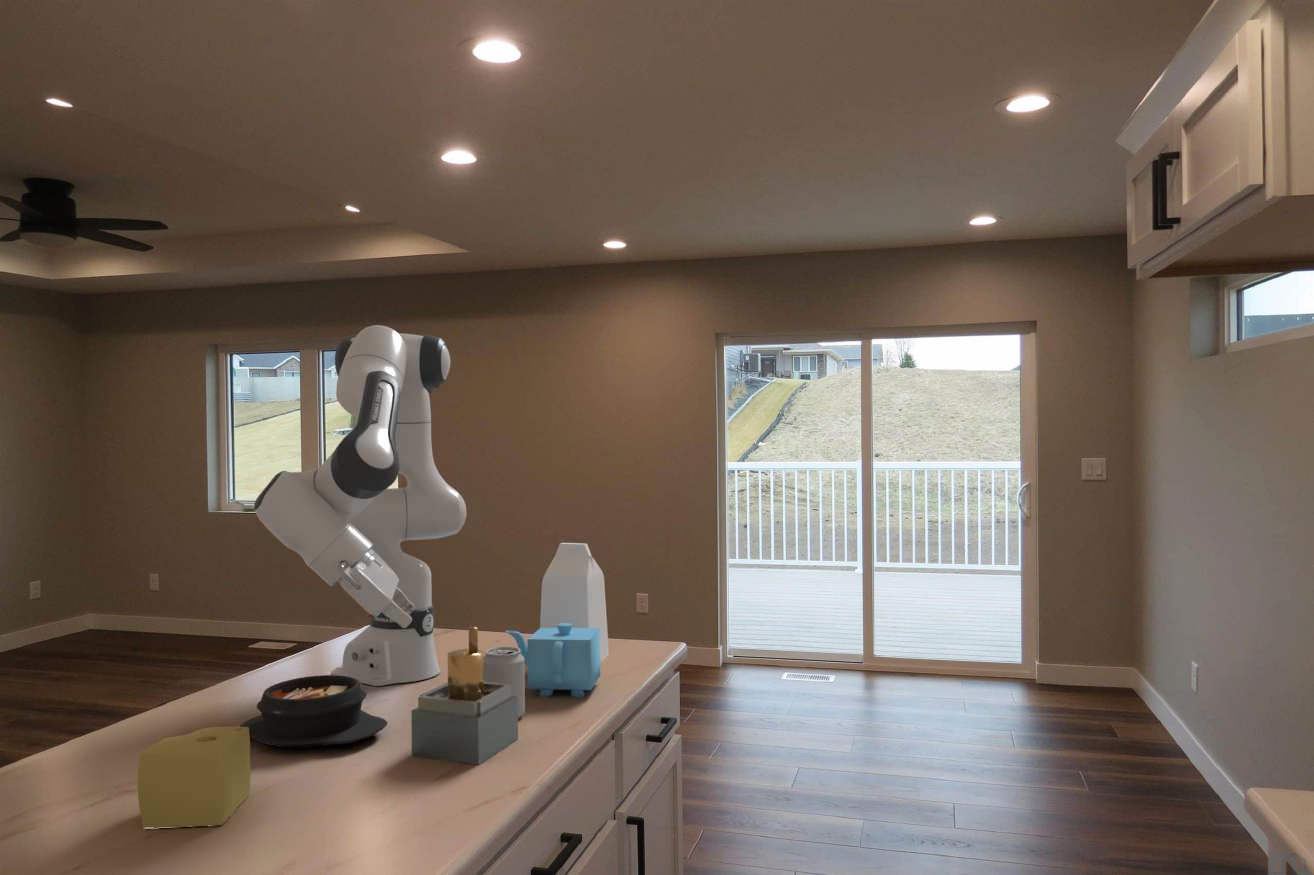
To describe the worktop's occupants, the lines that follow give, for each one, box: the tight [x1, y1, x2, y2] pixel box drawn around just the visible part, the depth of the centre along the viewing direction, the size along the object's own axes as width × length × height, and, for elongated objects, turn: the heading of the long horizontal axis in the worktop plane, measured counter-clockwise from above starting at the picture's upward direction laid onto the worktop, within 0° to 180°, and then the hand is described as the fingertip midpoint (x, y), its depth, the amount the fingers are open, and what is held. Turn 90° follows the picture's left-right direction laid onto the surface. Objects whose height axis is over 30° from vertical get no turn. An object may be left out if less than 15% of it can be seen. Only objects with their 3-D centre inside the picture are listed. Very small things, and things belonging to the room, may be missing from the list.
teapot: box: [505, 623, 601, 698], centre depth 172 cm, size 18×16×13 cm
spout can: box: [447, 626, 485, 701], centre depth 140 cm, size 6×6×12 cm
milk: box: [539, 542, 610, 663], centre depth 193 cm, size 12×12×26 cm
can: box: [484, 646, 526, 720], centre depth 155 cm, size 8×8×12 cm
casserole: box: [238, 674, 388, 749], centre depth 146 cm, size 25×19×8 cm
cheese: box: [136, 726, 251, 829], centre depth 116 cm, size 10×11×10 cm
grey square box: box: [410, 682, 519, 766], centre depth 140 cm, size 12×12×9 cm
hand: (410, 617), depth 139 cm, fingers open, 8 cm apart
